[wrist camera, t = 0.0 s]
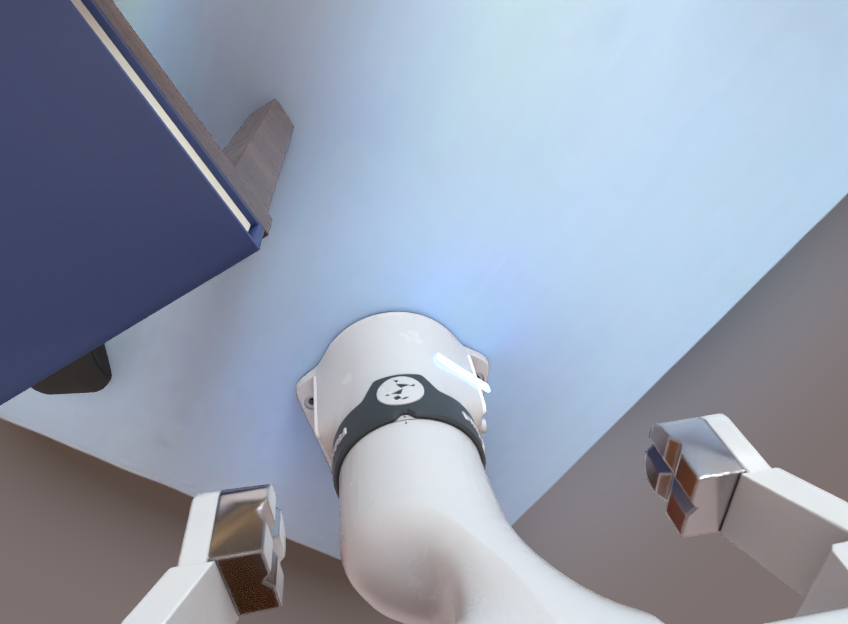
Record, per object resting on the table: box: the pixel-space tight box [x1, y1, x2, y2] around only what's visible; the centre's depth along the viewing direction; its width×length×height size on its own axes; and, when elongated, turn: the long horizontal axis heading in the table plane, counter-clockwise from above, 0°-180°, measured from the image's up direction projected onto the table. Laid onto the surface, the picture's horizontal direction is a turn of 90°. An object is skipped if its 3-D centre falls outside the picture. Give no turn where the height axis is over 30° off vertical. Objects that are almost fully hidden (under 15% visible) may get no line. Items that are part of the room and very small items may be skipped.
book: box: [0, 0, 265, 405], centre depth 21 cm, size 14×10×2 cm
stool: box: [93, 0, 294, 239], centre depth 31 cm, size 14×20×25 cm
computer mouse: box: [31, 343, 111, 394], centre depth 49 cm, size 6×11×4 cm, turn 178°
